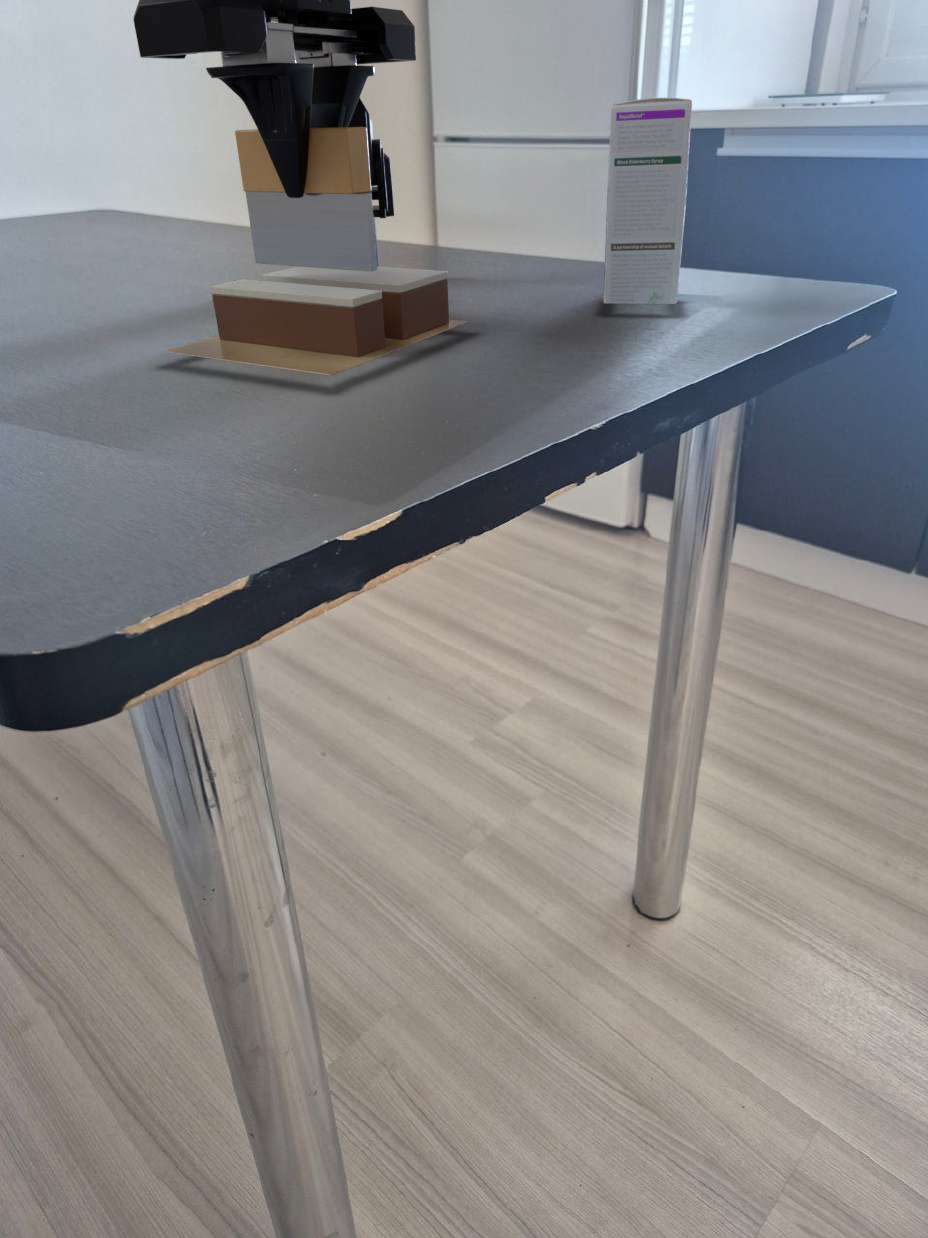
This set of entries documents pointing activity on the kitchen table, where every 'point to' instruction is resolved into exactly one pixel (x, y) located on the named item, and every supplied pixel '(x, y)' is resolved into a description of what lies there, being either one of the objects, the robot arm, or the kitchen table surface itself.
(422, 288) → the cake
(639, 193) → the syrup box
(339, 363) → the cake board
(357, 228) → the scraper
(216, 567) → the kitchen table surface
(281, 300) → the cake slice
